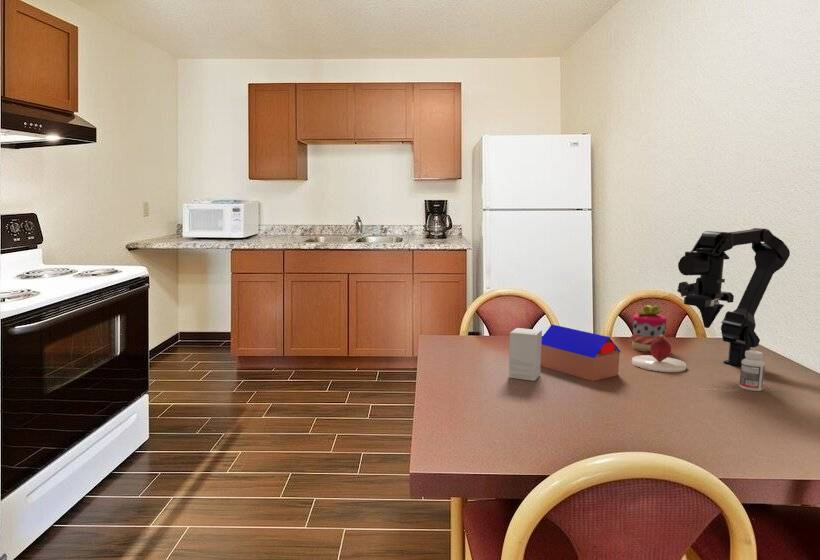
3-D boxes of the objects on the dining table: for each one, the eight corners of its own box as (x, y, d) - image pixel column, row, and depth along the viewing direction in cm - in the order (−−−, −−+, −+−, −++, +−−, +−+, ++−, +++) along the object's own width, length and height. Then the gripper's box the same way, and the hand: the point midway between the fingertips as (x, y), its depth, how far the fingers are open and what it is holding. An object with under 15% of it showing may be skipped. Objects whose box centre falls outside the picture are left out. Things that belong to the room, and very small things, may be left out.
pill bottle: (747, 384, 164) (751, 348, 162) (767, 390, 159) (770, 353, 158) (734, 386, 161) (737, 350, 160) (753, 392, 156) (757, 355, 155)
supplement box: (540, 375, 168) (543, 329, 166) (534, 381, 161) (536, 334, 159) (514, 371, 171) (516, 327, 169) (507, 377, 164) (509, 331, 162)
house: (563, 360, 186) (565, 322, 184) (619, 375, 170) (622, 334, 168) (536, 365, 179) (538, 326, 177) (592, 382, 163) (595, 339, 161)
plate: (648, 356, 192) (648, 352, 191) (695, 367, 180) (696, 363, 180) (622, 363, 182) (622, 359, 182) (669, 375, 171) (670, 371, 171)
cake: (625, 344, 208) (628, 301, 206) (654, 344, 209) (657, 301, 207) (639, 352, 197) (643, 306, 196) (670, 352, 199) (674, 306, 197)
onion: (672, 364, 178) (674, 337, 177) (651, 363, 179) (653, 336, 178) (667, 359, 183) (669, 333, 182) (647, 358, 184) (649, 332, 183)
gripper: (699, 270, 188) (694, 320, 190) (668, 273, 177) (664, 326, 179) (736, 274, 180) (731, 326, 182) (706, 277, 168) (702, 333, 170)
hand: (706, 327), depth 178 cm, fingers closed
